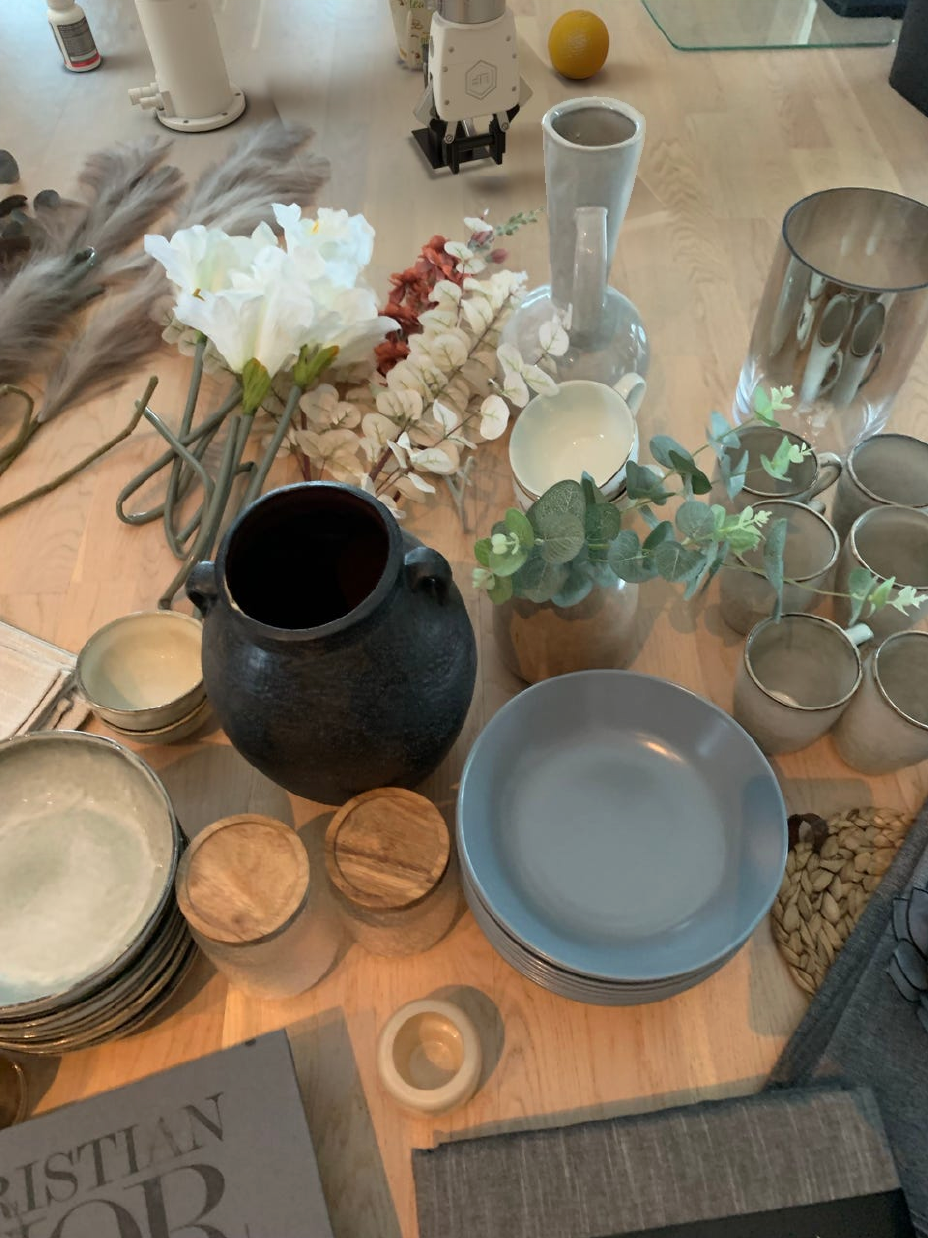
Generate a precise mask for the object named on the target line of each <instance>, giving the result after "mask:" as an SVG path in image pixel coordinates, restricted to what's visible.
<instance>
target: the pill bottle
mask: <svg viewBox="0 0 928 1238" xmlns="http://www.w3.org/2000/svg"><path fill="white" fill-rule="evenodd" d="M45 2H46V5H47V7H49V8H48V10H47V12H46V18H47V21H48V24H49V26H50V30H51V32H52V34H53V37H54V39H55V42H56V45H57V47H58V49H59V52H60V55H61V57H62V60H63V62H64V65H65V67H66V68H67V69H68V70H69V71H71V72H78V73H79V72H88V71H90V70H93V69H95V68H97V67H98V66H99V65H100V63H101V56H100V53H99V50H98V47H97V45H96V41H95V39H94V36H93V33H92V31H91V28H90V25H89V22H88V19H87V16H86V13H85V11H84V9H83V7H82V6H81V5H80V4H78V3H75V2H76V0H45Z"/></svg>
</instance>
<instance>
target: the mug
mask: <svg viewBox="0 0 928 1238" xmlns="http://www.w3.org/2000/svg"><path fill="white" fill-rule="evenodd" d="M388 3H389V7H390V8H389V9H390V12H391V19H392V22H393V28H394V33H395V39H396V44H397V48H398V53H399V57H400V59H401V60H403V61H404V62H407V65H408V67H409V68H414V67H415V65H416V64H423V51H422V44H427V43H429V41H430V31H431V23H432V17H433V13H434V12H436V11H437V10H433V9H428V10H427V9H426V7H425V2H424V0H388Z"/></svg>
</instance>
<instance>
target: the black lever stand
mask: <svg viewBox="0 0 928 1238" xmlns="http://www.w3.org/2000/svg"><path fill="white" fill-rule="evenodd" d="M422 51H423V63H422V70H423V81H424V90H425V89H426V88H427V86H428V59H429V43H427V44H422ZM430 113H431V114H434V115H435V116H436V117H438V118H439V119H440V116H439V115H438V113H437V110H436V106H435V105H433V106H432V108H431V110H430ZM472 121H474V119H472ZM410 132H411V134H412V136H413V137H414V139H415V141H416V142H417V144H418V146H419V147H420V149H421V151H422V152H423V154H424V156H425V158H426V159H427V161H428V162H429V165H430V166H431V167H432V169H433V170H436V169H441V168H445V167H449V166H448V165H447V166H446V165H445V164H444V161H443V152H442V138H441V137H440V136H439V135H438V134H436V133H435V132H434V131H433V130H432V129H431V128H429V127H428V126H426V127H424V128H418V129H414V130H410ZM465 137H466V134H465V131H464V128H463V125H462V122H461V121H458V124H457V128H456V132H455V138H456V139H460V138H465ZM488 158H492V157H491V156H490V154H489V150H488V149H487V148H486V147H481V148H476V149H472V150H467V151H462V152H459V165H460V164H464V163H469V162H473V161H478V160H483V159H488Z"/></svg>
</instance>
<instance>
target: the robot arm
mask: <svg viewBox="0 0 928 1238" xmlns="http://www.w3.org/2000/svg"><path fill="white" fill-rule="evenodd" d="M133 1H134V4H135V8H136V11H137V14H138V17H139V20H140V24H141V27H142V31H143V34H144V37H145V41H146V44H147V47H148V50H149V53H150V57H151V61H152V64H153V67H154V70H155V74H154V78H155V81H154V82H153V81H152V82H149V86H143V87H140V86H139V87H133V88H129V89H127V92H128V95H129V98H130V103H131V105H132V106H137V105H140V106H141V110H142V111H145V110H150V109H152V108H155V110H156V111H155V112H156V114H157V117H158V120H159V122H161V123H162V124H163V125H164V126H166V127H168V128H170V129H173V130H176V131H179V132H189V133H190V132H193V133H195V132H206V131H210V130H215V129H218V128H221V127H224V126H226V125H229V124H230V123H232V122H234V121H235V120H236V119H237V118H239V117H240V116H241V115H242V114H243V112H244V110H245V108H246V100H245V94H244V93H243V91H242V90H241V89H240V88H239V87H238V86H235V84H232V83H231V82H230V79H229V74H228V71H227V66H226V62H225V58H224V54H223V49H222V46H221V42H220V37H219V34H218V29H217V25H216V24H217V23H216V21H215V20H216V19H215V17H214V12H213V9H212V4H211V0H133ZM424 2H425V7H426V9H427V10H428V9H433V10H437V11H436V12H434V13H433V17H432V23H431V31H430V41H429V59H428V86H427V88H426V89H425V88H424V91H423V93H422V94H421V97H420V98H419V100H418V101H417V103H416V104H415V106H414V108H413V110H412V114H413V116H414V118H415V119H416V120H417V121H418V122H419V123H421V124H422V125H424V126H426V127H427V126H428V127H429V128H431V129H432V130H433V131H434V132H435V133H436V134H438V135H439V136H440V137H441V138H442V152H443V161H444V164H445V165H446V167H448V168H449V170H450V171H451V173H452V175H454V176H455V175H458V174H459V173H460V164H459V144H458V142H457V140H456V138H455V132H456V128H457V124H458V121H461V120H466V119H471V118H472V119H476V118H480V117H485V116H489V115H492V119H491V120H490V121H489V124H488V132H493V134H494V138H495V143H494V145H490V146H488V153H489V154H490V156H491V157H490V158H491V159H492V160H493V162H494V163H495V165H497V166H501V165H503V162H504V161H503V158H504V157H503V154H506V151H507V149H506V148H507V147H506V146H507V132H508V130H509V129H510V127H511V123H512V121H513V120H514V119H515V117H516V116H517V115H518V114H519V112H520V110H521V108H522V107H524V106H525V104H526V103H528V101H529V100H530V99H531V98H532V96H533V94H534V93H533V90H532V89H531V88H530V86H529V85H528V84H527V82H526V81H525V80H524V79H523V77H522V76H521V75H520V59H519V46H518V45H519V44H518V36H517V25H516V20H515V14H514V10H513V9H512V8H511V7H510V6H509V5H508V4H507V0H424ZM433 105H435V106H436V110H437V113H438V115H439V116H440V119H439V118H438V117H436V116H435V115H434V114H431V113H430V110H431V108H432V106H433ZM447 165H448V166H447Z"/></svg>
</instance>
